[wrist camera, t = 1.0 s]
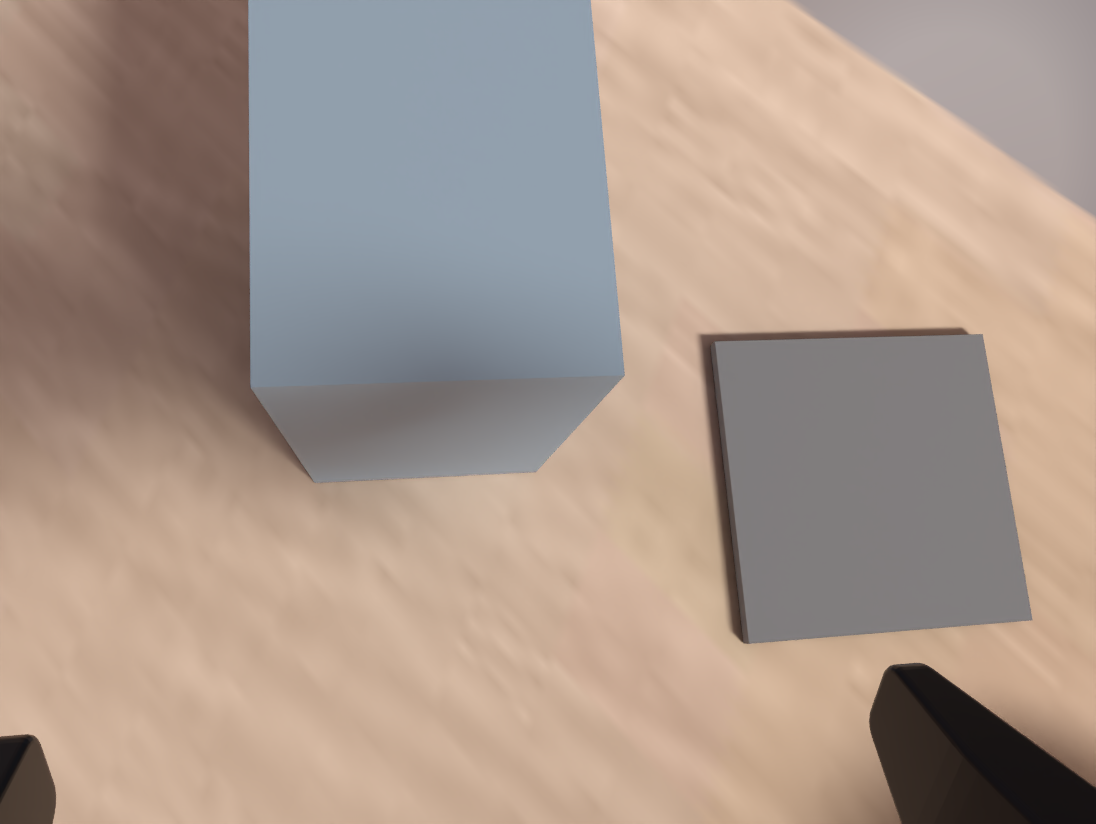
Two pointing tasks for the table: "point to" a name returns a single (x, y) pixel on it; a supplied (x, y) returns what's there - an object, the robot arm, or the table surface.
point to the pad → (866, 486)
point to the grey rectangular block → (428, 233)
